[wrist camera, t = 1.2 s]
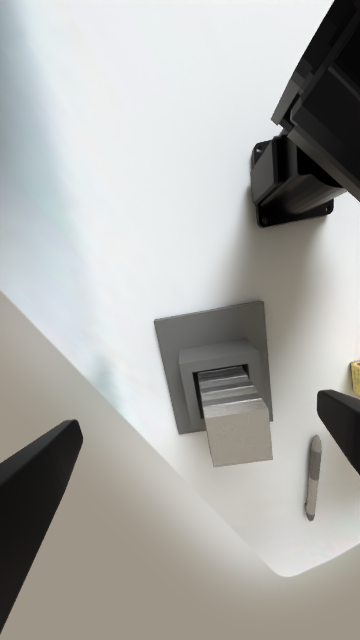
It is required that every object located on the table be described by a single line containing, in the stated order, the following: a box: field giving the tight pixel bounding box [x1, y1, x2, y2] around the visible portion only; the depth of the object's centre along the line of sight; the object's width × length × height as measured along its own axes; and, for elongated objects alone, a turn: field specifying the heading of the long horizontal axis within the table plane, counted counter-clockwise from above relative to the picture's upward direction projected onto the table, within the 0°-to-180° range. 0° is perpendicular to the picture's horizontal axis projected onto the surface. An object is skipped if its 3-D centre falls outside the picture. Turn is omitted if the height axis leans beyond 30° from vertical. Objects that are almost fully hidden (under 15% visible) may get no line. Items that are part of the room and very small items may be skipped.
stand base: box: [154, 301, 273, 434], centre depth 19 cm, size 11×14×5 cm
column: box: [197, 365, 273, 467], centre depth 16 cm, size 4×4×8 cm
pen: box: [305, 435, 321, 521], centre depth 24 cm, size 1×14×1 cm, turn 5°
